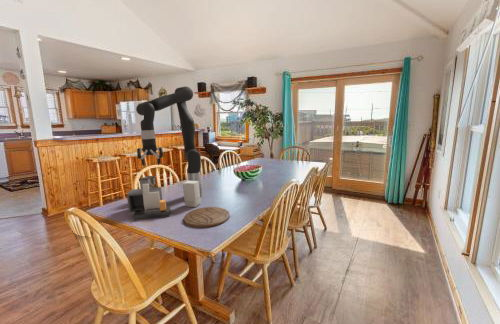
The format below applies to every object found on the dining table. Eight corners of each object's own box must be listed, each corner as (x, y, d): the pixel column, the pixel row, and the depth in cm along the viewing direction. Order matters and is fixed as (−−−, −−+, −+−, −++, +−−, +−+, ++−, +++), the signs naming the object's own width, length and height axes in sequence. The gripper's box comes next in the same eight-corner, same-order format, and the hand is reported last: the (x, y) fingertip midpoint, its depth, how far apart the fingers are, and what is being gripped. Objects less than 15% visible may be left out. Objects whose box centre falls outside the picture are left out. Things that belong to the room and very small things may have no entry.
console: (170, 211, 150) (170, 206, 150) (169, 216, 143) (168, 211, 142) (136, 214, 146) (136, 210, 146) (133, 220, 139) (133, 215, 138)
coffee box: (149, 197, 178) (147, 175, 175) (157, 197, 177) (155, 175, 174) (141, 201, 169) (139, 178, 166) (150, 202, 168) (147, 179, 165)
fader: (166, 207, 148) (165, 199, 147) (165, 210, 143) (164, 201, 143) (161, 208, 147) (160, 199, 146) (160, 210, 143) (159, 202, 142)
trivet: (211, 206, 157) (211, 204, 157) (238, 217, 140) (238, 214, 140) (175, 219, 139) (175, 216, 139) (201, 233, 122) (201, 229, 122)
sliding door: (160, 208, 152) (158, 182, 149) (160, 209, 151) (157, 183, 148) (145, 210, 150) (142, 184, 147) (144, 211, 149) (141, 184, 146)
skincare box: (201, 204, 162) (199, 180, 159) (195, 207, 156) (193, 183, 153) (189, 202, 164) (188, 180, 161) (184, 206, 158) (182, 182, 155)
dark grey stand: (162, 204, 162) (161, 187, 160) (160, 211, 150) (158, 192, 148) (133, 207, 158) (130, 189, 156) (128, 215, 147) (125, 195, 144)
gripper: (162, 136, 150) (165, 163, 153) (138, 137, 149) (141, 164, 152) (159, 138, 143) (161, 165, 146) (133, 139, 142) (136, 166, 145)
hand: (151, 165), depth 149 cm, fingers open, 8 cm apart
